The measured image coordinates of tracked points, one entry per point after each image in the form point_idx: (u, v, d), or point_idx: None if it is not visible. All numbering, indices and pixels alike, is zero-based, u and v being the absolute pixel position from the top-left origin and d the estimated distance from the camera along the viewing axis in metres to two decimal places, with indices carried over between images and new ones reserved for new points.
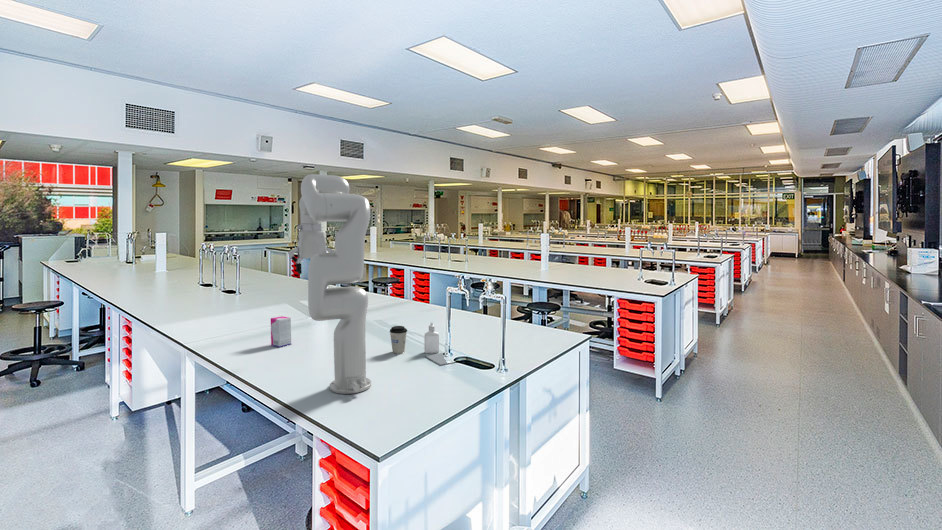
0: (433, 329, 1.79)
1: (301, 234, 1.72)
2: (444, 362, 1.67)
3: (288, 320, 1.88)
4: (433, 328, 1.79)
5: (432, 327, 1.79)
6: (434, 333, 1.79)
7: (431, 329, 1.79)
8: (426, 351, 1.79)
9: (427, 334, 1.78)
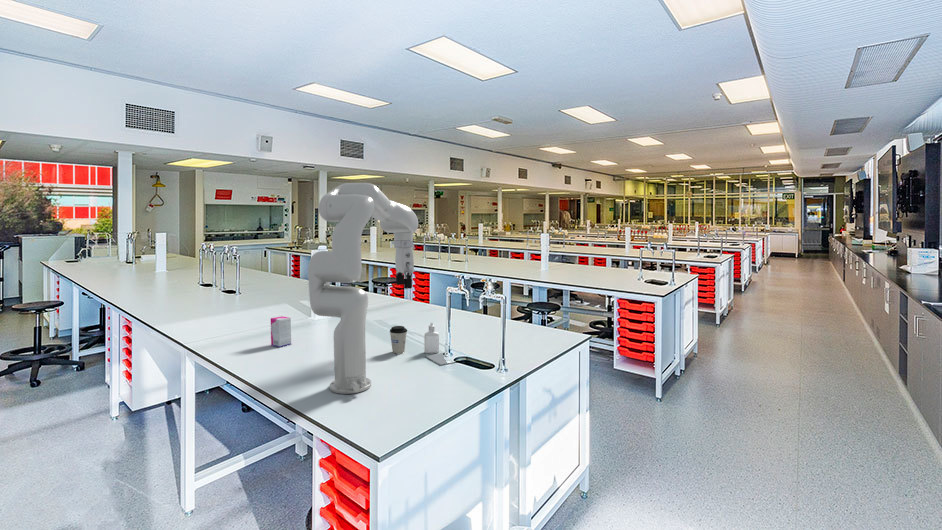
0: (433, 329, 1.79)
1: (411, 250, 1.82)
2: (444, 362, 1.67)
3: (288, 320, 1.88)
4: (433, 328, 1.79)
5: (432, 327, 1.79)
6: (434, 333, 1.79)
7: (431, 329, 1.79)
8: (426, 351, 1.79)
9: (427, 334, 1.78)
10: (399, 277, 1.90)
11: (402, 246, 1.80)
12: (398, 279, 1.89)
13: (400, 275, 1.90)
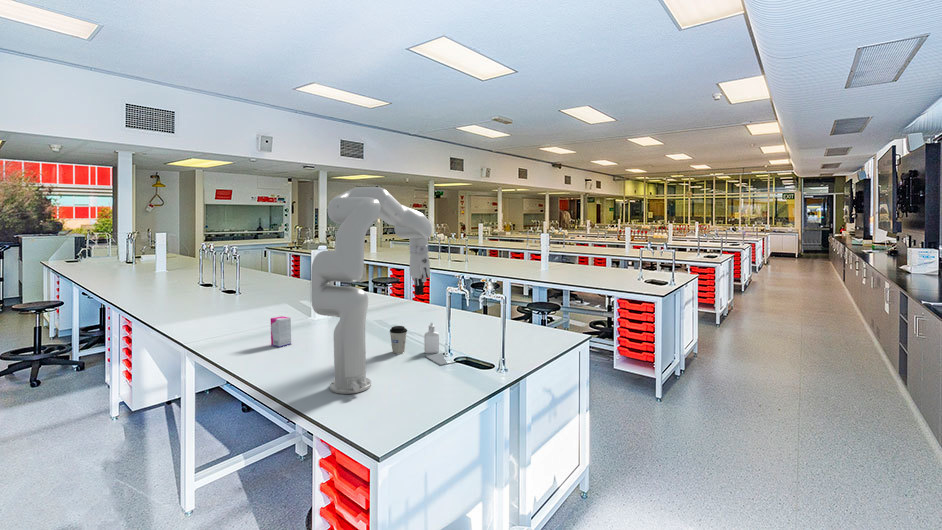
0: (433, 329, 1.79)
1: None
2: (444, 362, 1.67)
3: (288, 320, 1.88)
4: (433, 328, 1.79)
5: (432, 327, 1.79)
6: (434, 333, 1.79)
7: (431, 329, 1.79)
8: (426, 351, 1.79)
9: (427, 334, 1.78)
10: None
11: (419, 252, 1.82)
12: None
13: None
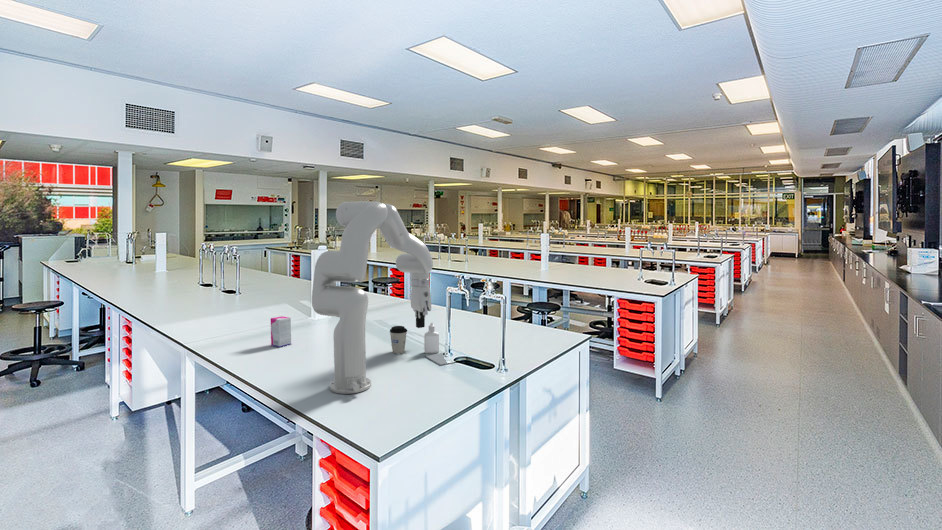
0: (433, 329, 1.79)
1: (429, 289, 1.84)
2: (444, 362, 1.67)
3: (288, 320, 1.88)
4: (433, 328, 1.79)
5: (432, 327, 1.79)
6: (434, 333, 1.79)
7: (431, 329, 1.79)
8: (426, 351, 1.79)
9: (427, 334, 1.78)
10: None
11: (420, 285, 1.82)
12: None
13: None
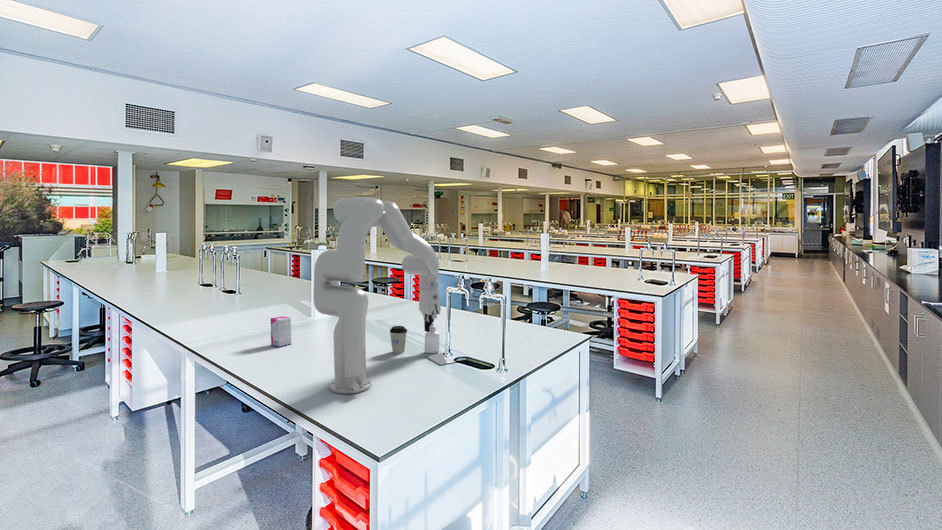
0: (434, 329, 1.78)
1: (438, 291, 1.78)
2: (444, 362, 1.67)
3: (288, 320, 1.88)
4: (434, 328, 1.78)
5: (433, 327, 1.78)
6: (435, 333, 1.78)
7: (432, 329, 1.78)
8: (426, 351, 1.79)
9: (428, 334, 1.78)
10: None
11: (429, 288, 1.76)
12: None
13: None
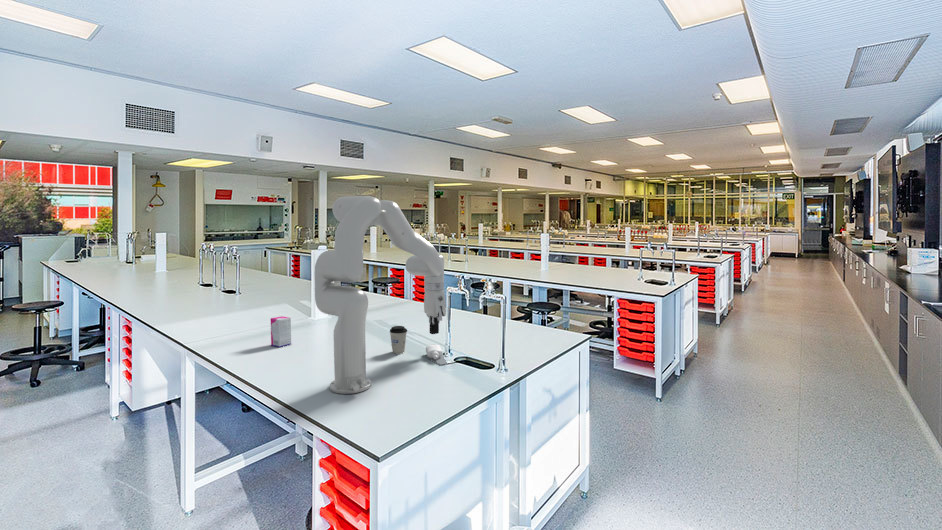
0: None
1: (444, 293, 1.74)
2: (444, 362, 1.67)
3: (288, 320, 1.88)
4: None
5: None
6: None
7: None
8: None
9: (430, 357, 1.71)
10: None
11: (434, 289, 1.73)
12: None
13: None
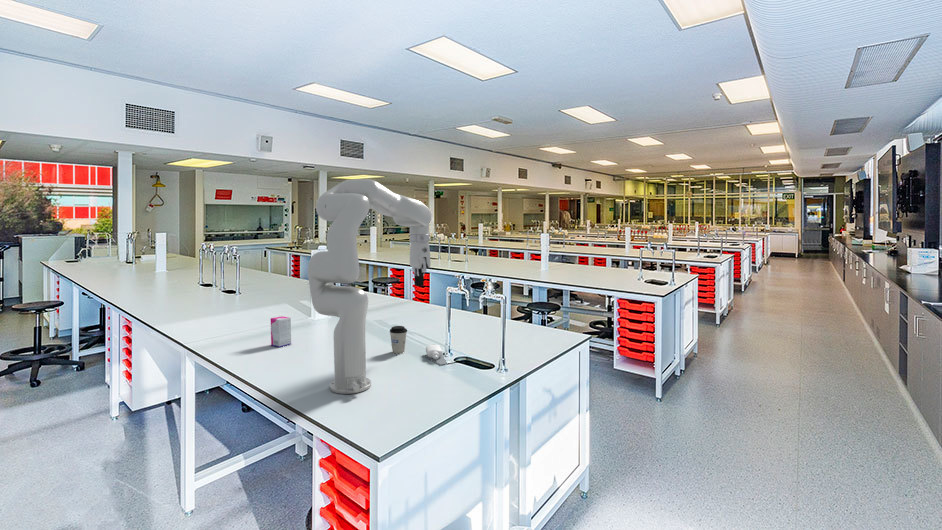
0: None
1: (428, 245, 1.76)
2: (444, 362, 1.67)
3: (288, 320, 1.88)
4: None
5: None
6: None
7: None
8: None
9: (430, 357, 1.71)
10: None
11: (419, 240, 1.75)
12: None
13: None
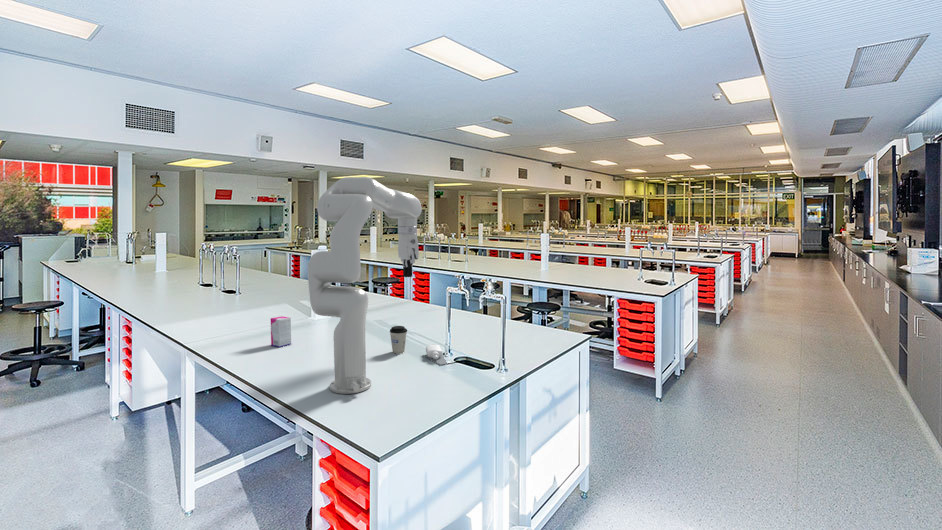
0: None
1: (416, 236, 1.80)
2: (444, 362, 1.67)
3: (288, 320, 1.88)
4: None
5: None
6: None
7: None
8: None
9: (430, 357, 1.71)
10: None
11: (407, 232, 1.78)
12: None
13: None
